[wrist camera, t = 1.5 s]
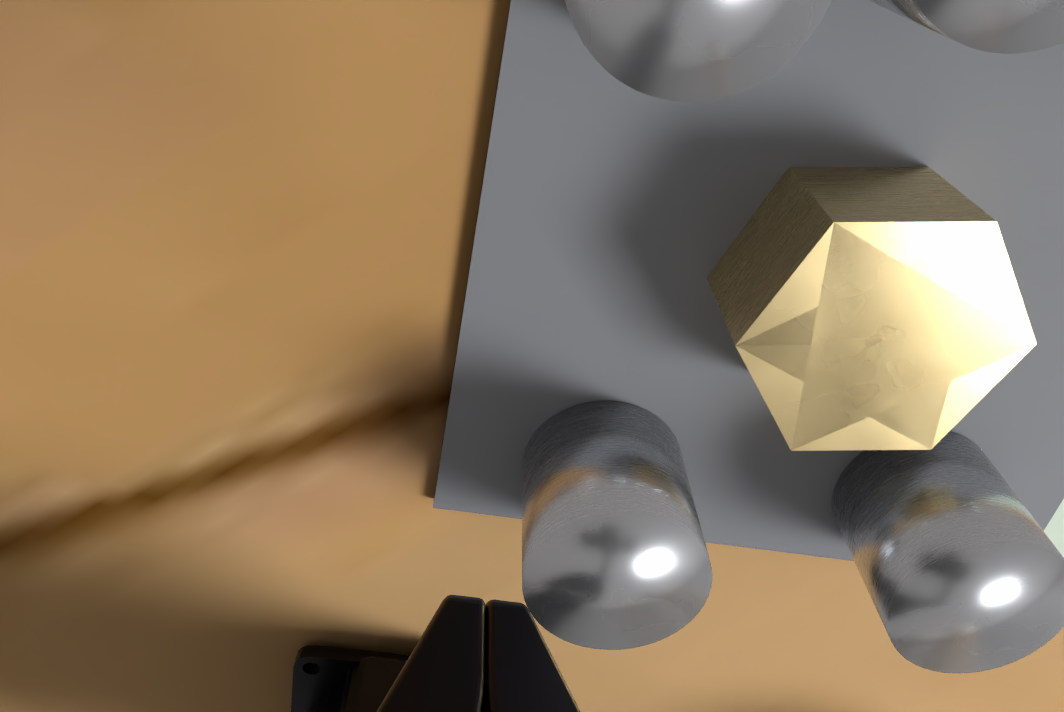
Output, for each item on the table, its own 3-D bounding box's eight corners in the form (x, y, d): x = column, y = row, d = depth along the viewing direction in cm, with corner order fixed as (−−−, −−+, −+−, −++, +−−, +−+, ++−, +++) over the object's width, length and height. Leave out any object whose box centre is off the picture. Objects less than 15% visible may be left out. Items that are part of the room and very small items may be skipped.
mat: (1171, 594, 25) (1178, 602, 25) (434, 500, 23) (433, 507, 22) (1708, -116, 16) (1728, -115, 16) (568, -378, 14) (569, -382, 13)
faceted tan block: (940, 372, 21) (1000, 449, 18) (695, 373, 21) (721, 451, 18) (998, 165, 18) (1078, 221, 15) (718, 167, 18) (752, 222, 15)
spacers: (944, 572, 24) (1015, 696, 20) (452, 510, 23) (440, 631, 19) (1358, -162, 15) (1604, -162, 12) (594, -335, 14) (619, -392, 10)
